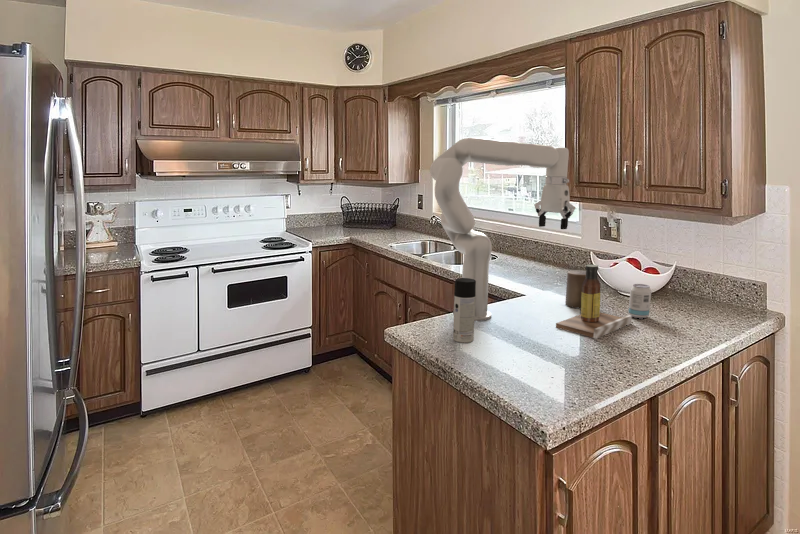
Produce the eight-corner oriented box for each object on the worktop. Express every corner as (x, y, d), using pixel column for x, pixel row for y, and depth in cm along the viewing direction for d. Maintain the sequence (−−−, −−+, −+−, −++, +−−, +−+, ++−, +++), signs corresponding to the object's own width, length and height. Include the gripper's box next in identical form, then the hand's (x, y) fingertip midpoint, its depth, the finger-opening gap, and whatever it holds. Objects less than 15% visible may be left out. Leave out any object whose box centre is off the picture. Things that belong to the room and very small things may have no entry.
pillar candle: (594, 308, 196) (597, 271, 193) (569, 308, 196) (571, 271, 193) (585, 302, 205) (588, 266, 203) (561, 302, 206) (564, 266, 203)
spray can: (459, 335, 166) (460, 276, 162) (477, 339, 162) (479, 279, 158) (449, 340, 160) (450, 280, 156) (468, 345, 157) (470, 283, 153)
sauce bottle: (597, 318, 179) (601, 264, 175) (600, 323, 173) (605, 267, 169) (578, 317, 180) (582, 263, 176) (580, 322, 174) (585, 266, 170)
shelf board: (596, 338, 162) (596, 329, 162) (555, 327, 174) (556, 319, 173) (630, 323, 178) (631, 315, 177) (591, 314, 189) (592, 306, 188)
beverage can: (647, 315, 188) (650, 284, 185) (649, 320, 181) (653, 288, 179) (627, 313, 190) (630, 282, 187) (629, 318, 183) (632, 287, 181)
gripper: (582, 182, 180) (578, 229, 184) (542, 181, 194) (539, 224, 197) (570, 182, 176) (566, 230, 179) (530, 181, 189) (527, 226, 192)
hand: (552, 227), depth 188 cm, fingers open, 9 cm apart
